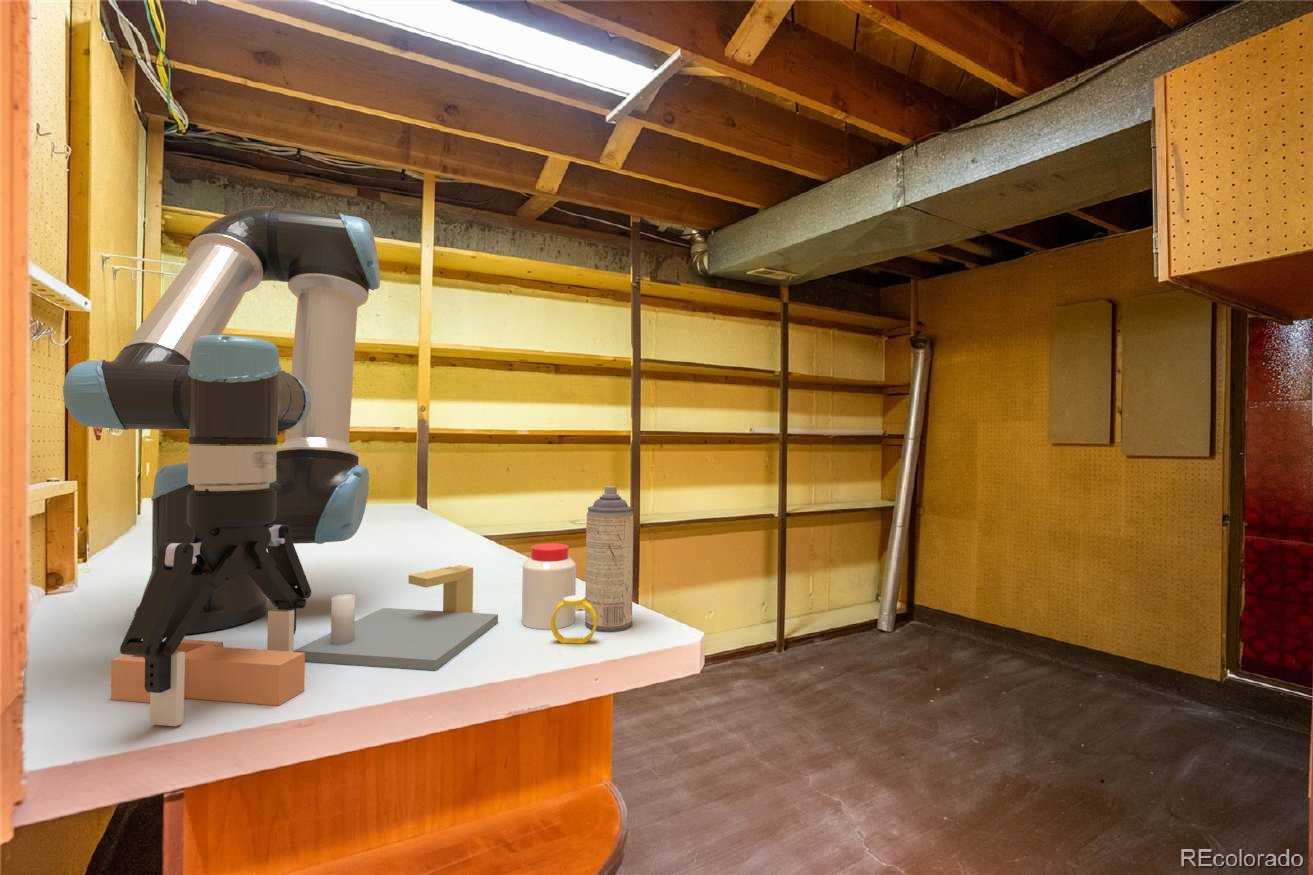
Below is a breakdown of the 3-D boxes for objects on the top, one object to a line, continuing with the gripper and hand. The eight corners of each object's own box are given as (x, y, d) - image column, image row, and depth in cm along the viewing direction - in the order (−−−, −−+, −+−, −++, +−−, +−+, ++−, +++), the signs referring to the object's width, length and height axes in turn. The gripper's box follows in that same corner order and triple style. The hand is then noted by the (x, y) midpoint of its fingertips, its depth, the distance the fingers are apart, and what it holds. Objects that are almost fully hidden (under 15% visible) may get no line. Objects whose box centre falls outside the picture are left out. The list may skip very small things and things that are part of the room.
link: (110, 699, 59) (111, 659, 59) (171, 674, 65) (171, 638, 65) (267, 712, 57) (267, 671, 57) (314, 685, 63) (314, 647, 63)
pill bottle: (564, 631, 82) (565, 552, 82) (512, 627, 83) (513, 549, 83) (582, 615, 89) (583, 543, 89) (534, 611, 91) (535, 540, 91)
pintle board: (293, 660, 70) (294, 600, 70) (397, 608, 91) (398, 562, 91) (435, 670, 67) (436, 607, 67) (508, 614, 89) (508, 567, 89)
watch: (550, 648, 76) (548, 602, 76) (554, 640, 79) (551, 596, 79) (596, 645, 76) (594, 599, 76) (598, 637, 79) (596, 593, 79)
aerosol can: (641, 624, 85) (643, 487, 85) (606, 635, 80) (608, 489, 80) (610, 614, 90) (612, 484, 90) (575, 624, 85) (577, 486, 85)
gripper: (146, 498, 48) (140, 759, 48) (345, 480, 73) (342, 651, 72) (67, 496, 49) (61, 752, 49) (290, 478, 74) (287, 648, 73)
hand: (229, 692), depth 61 cm, fingers open, 13 cm apart
